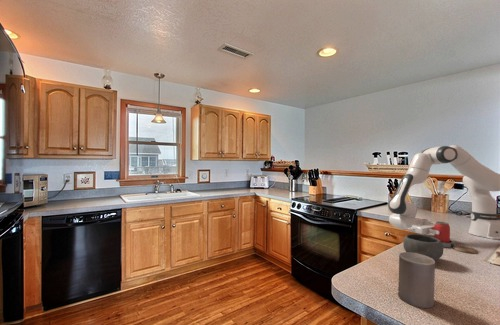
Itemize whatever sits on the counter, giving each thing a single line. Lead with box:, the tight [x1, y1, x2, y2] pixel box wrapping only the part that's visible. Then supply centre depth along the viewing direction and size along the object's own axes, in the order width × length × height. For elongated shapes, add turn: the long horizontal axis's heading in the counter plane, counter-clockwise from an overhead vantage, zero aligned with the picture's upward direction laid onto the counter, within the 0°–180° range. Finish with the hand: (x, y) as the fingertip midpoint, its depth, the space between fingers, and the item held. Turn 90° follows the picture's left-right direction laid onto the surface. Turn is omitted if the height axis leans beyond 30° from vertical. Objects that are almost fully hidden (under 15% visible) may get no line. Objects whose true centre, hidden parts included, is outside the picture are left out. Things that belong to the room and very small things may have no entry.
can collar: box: [432, 236, 455, 249], centre depth 131 cm, size 10×10×2 cm
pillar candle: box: [397, 251, 436, 309], centre depth 78 cm, size 10×10×15 cm
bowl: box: [402, 233, 444, 262], centre depth 111 cm, size 15×15×10 cm
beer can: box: [433, 221, 451, 243], centre depth 131 cm, size 7×7×12 cm
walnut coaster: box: [452, 245, 478, 255], centre depth 123 cm, size 9×9×1 cm
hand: (443, 232), depth 131 cm, fingers closed on beer can, 6 cm apart
